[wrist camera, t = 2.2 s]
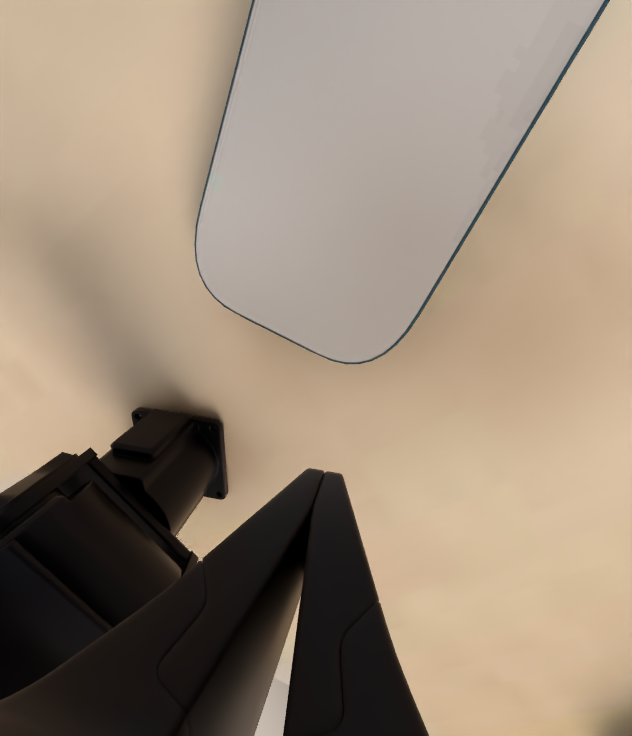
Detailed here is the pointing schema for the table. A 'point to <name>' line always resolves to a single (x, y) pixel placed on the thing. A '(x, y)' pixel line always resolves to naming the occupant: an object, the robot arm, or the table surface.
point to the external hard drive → (369, 155)
